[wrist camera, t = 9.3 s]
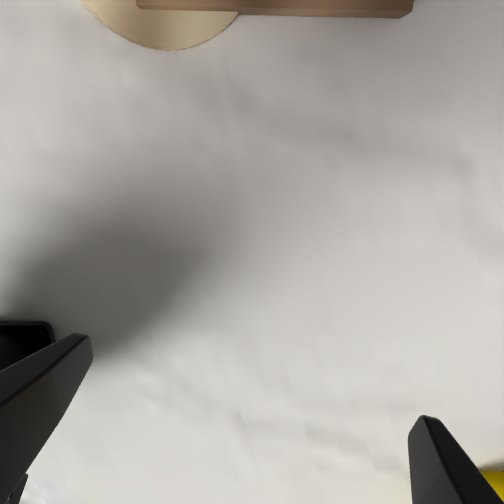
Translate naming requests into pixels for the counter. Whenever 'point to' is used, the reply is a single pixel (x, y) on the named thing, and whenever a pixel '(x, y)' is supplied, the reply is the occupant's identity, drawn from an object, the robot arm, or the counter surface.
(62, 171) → the counter surface
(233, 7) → the brown flat square block
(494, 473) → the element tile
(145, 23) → the coaster
